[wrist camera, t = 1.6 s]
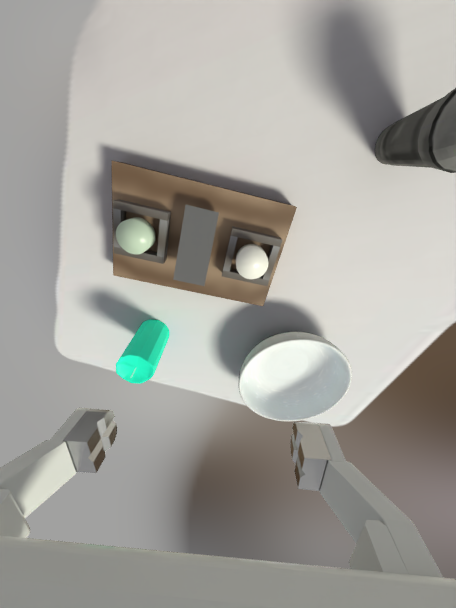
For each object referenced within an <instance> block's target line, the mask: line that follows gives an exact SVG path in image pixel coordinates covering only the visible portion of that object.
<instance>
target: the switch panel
mask: <svg viewBox="0 0 456 608" xmlns="http://www.w3.org/2000/svg"><path fill="white" fill-rule="evenodd" d="M186 205H190V206H194V207H198V208H202V209H206V210H210V211H215V212H219V216H218V221H217V226H216V231H215V236H214V241H213V246H212V251H211V256H210V261H209V266H208V271H207V276H206V281H205V286H201V285H196V284H192V283H187V282H182V281H177V280H173V278H174V272H175V266H176V260H177V254H178V248H179V242H180V236H181V230H182V224H183V218H184V212H185V206H186ZM296 208H297V207H295V206H293V205H289V204H285V203H281V202H277V201H273V200H269V199H265V198H261V197H257V196H253V195H249V194H245V193H241V192H237V191H233V190H229V189H225V188H221V187H217V186H213V185H209V184H205V183H201V182H197V181H193V180H189V179H186V178H182V177H178V176H174V175H170V174H166V173H162V172H158V171H154V170H150V169H146V168H142V167H138V166H134V165H130V164H126V163H122V162H116V161H112V219H113V275H114V276H119V277H124V278H129V279H134V280H139V281H143V282H148V283H153V284H158V285H163V286H168V287H173V288H177V289H182V290H187V291H192V292H197V293H202V294H206V295H211V296H216V297H221V298H226V299H231V300H235V301H240V302H245V303H250V304H255V305H260V306H263V305H264V302H265V299H266V296H267V293H268V290H269V287H270V285H271V282H272V279H273V276H274V273H275V270H276V267H277V264H278V261H279V258H280V255H281V252H282V249H283V246H284V243H285V240H286V237H287V234H288V231H289V229H290V226H291V223H292V220H293V217H294V214H295V211H296ZM134 217H139V218H143V219H145V220H147V221H148V222H149V223H150V224H151V225H152V227H153V228H154V231H155V235H156V238H155V242H154V244H153V245H152V246H151V247H150V248H149V249H148V250H146V251H145V252H144V253H142V254H131V253H128V252H126V251H125V250H124V249H123V248H122V247H121V246H120V245H119V243H118V241H117V239H116V229H117V227H118V225H119V224H120V223H121V222H123V221H125V220H128V219H131V218H134ZM247 244H256V245H258V246H260V247H261V248H262V249H263V250H264V252H265V254H266V256H267V258H268V268H267V270H266V272H265V273H264V274H263V275H262V276H261V277H259V278H257V279H246V278H244V277H242V276H241V275H240V274H239V273H238V271H237V268H236V255H237V252H238V251H239V249H240V248H241V247H243V246H244V245H247Z"/></svg>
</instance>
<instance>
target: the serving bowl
mask: <svg viewBox="0 0 456 608" xmlns="http://www.w3.org/2000/svg"><path fill="white" fill-rule="evenodd" d="M351 379H352V371H351V366H350V364H349V361H348V359H347V358H346V356H345V355H344V354H343V353H342V352H341V351H340V350H339V349H338V348H337V347H336V346H335V345H333V344H332V343H331V342H329V341H327V340H326V339H324V338H322V337H320V336H317V335H314V334H310V333H305V332H287V333H281V334H277V335H274V336H272V337H269V338H267V339H265V340H264V341H262V342H261V343H259V344H258V345H257V346H255V347H254V348H253V349H252V350H251V352H250V353H249V354H248V355H247V357H246V359H245V360H244V362H243V365H242V367H241V371H240V376H239V392H240V395H241V398H242V400H243V401H244V403H245V404H246V405H247V406H248V407H249V408H250V409H251V410H252V411H254V412H256V413H257V414H259V415H261V416H263V417H266V418H269V419H274V420H279V421H298V420H304V419H309V418H312V417H315V416H318V415H320V414H322V413H324V412H326V411H328V410H330V409H331V408H332V407H334V406H335V405H336V404H337V403H339V402H340V400H341V399H342V398H343V397H344V396H345V394H346V393H347V391H348V389H349V387H350V383H351Z"/></svg>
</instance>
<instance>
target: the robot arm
mask: <svg viewBox="0 0 456 608" xmlns="http://www.w3.org/2000/svg"><path fill="white" fill-rule="evenodd" d="M114 417H115V416H114V412H113V411H110V410H99V409H88V408H78V409H77V410H75V411H74V413H73V414H72V415H71V416H70V417H69V418H68V419H67V421H66V422H65V423H64V424H63V425H62V427H61V428H60V429H59V430H58V431H57V432H56V433H55V435H54V436H53V437H52V438H51V439H50V440H46V441H44V442H42V443H41V444H39V445H37V446H36V447H34V448H32V449H31V450H29V451H27V452H26V453H24V454H22V455H21V456H19V457H17V458H16V459H14V460H12V461H11V462H9V463H7V464H6V465H4V466H2V467H0V608H456V579H452V578H443V576H442V574H441V572H440V571H439V569H438V567H437V565H436V563H435V561H434V560H433V558H432V556H431V554H430V552H429V551H428V549H427V547H426V545H425V543H424V542H423V540H422V538H421V536H420V535H419V532H418V530H417V529H416V527H415V525H414V523H413V522H412V521H411V520H410V519H409V518H408V517H407V516H406V515H405V514H404V513H403V512H402V511H401V510H399V509H398V508H397V507H396V506H395V505H394V504H393V503H392V502H391V501H390V500H389V499H388V498H387V497H386V496H385V495H384V494H383V493H382V492H381V491H380V490H379V489H378V488H377V487H376V486H374V485H373V484H372V483H371V482H370V481H369V480H368V479H367V478H366V477H365V476H364V475H363V474H362V473H361V472H360V471H359V470H358V469H357V468H356V467H355V466H354V465H353V464H351V463H350V462H346V460H345V458H344V455H343V453H342V451H341V448H340V446H339V443H338V441H337V439H336V436H335V434H334V432H333V429H332V427H331V425H330V424H321V423H306V422H294V423H293V427H292V429H293V434H292V435H291V439H290V449H291V456H292V460H293V461H294V463H295V464H296V465H295V471H294V472H295V476H296V481H297V486H298V489H306V490H316V491H320V494H321V495H322V496H323V498H324V499H325V500H326V502H327V503H328V505H329V506H330V508H331V509H332V510H333V512H334V513H335V514H336V516H337V517H338V519H339V520H340V521H341V523H342V524H343V526H344V527H345V528H346V530H347V531H348V533H349V534H350V535H351V537H352V538H353V540H354V541H355V542H356V546H355V548H354V550H353V553H352V555H351V557H350V560H349V565H350V569H346V568H335V567H325V566H314V565H304V564H293V563H283V562H272V561H262V560H251V559H240V558H230V557H219V556H210V555H209V556H208V555H198V554H188V553H178V552H168V551H157V550H147V549H136V548H126V547H125V548H124V547H115V546H104V545H94V544H84V543H73V542H63V541H51V540H41V539H30V538H27V537H28V535H29V534H30V527H29V525H28V523H27V521H26V520H25V518H26V517H27V516H28V515H29V514H30V513H32V512H33V511H34V510H35V509H36V508H37V507H39V506H40V505H41V504H42V503H43V502H44V501H45V500H46V499H48V498H49V497H50V496H51V495H52V494H53V493H54V492H56V491H57V490H58V489H59V488H60V487H61V486H62V485H64V483H66V482H67V481H68V480H69V479H70V478H71V477H73V476H74V475H75V474H76V472H90V473H96V472H97V471H98V469H99V467H100V466H101V464H102V462H103V460H104V459H105V451H106V450H107V449H109V448H110V447H111V446H112V444H113V442H114V441H115V437H116V434H117V425H116V423H115V422H114V421H113V418H114Z"/></svg>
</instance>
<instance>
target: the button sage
mask: <svg viewBox="0 0 456 608" xmlns="http://www.w3.org/2000/svg"><path fill="white" fill-rule="evenodd" d="M155 238H156V235H155V231H154V228H153V227H152V225H151V224H150V223H149V222H148V221H147V220H145V219H143V218H139V217H134V218H131V219H128V220H125V221H123V222H121V223H120V224H119V225H118V227H117V229H116V239H117V241H118V243H119V245H120V246H121V247H122V248H123V249H124V250H125V251H126V252H128V253H131V254H142V253H144V252H145V251H146V250H148V249H149V248H150V247H151V246H152V245H153V244H154V242H155Z"/></svg>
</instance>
